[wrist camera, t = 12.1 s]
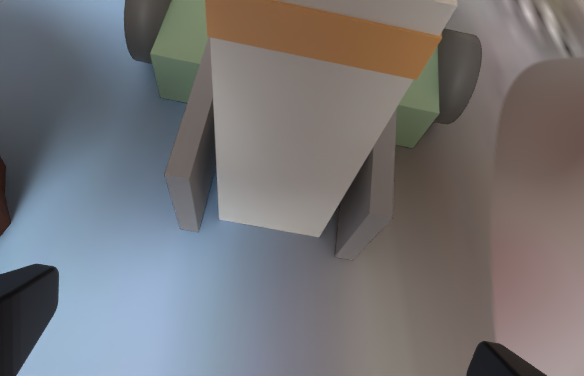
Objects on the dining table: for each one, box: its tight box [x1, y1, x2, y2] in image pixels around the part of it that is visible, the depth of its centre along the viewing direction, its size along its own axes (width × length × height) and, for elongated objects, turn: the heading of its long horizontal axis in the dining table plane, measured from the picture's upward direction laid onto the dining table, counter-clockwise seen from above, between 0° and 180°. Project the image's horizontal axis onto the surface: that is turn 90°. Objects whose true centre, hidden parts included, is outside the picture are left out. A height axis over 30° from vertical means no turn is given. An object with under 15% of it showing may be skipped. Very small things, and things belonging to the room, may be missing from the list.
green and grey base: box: [124, 0, 482, 260], centre depth 21 cm, size 22×16×5 cm
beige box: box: [205, 0, 457, 237], centre depth 14 cm, size 5×5×12 cm
